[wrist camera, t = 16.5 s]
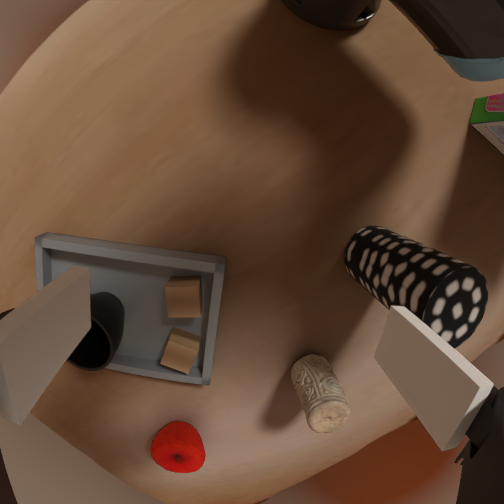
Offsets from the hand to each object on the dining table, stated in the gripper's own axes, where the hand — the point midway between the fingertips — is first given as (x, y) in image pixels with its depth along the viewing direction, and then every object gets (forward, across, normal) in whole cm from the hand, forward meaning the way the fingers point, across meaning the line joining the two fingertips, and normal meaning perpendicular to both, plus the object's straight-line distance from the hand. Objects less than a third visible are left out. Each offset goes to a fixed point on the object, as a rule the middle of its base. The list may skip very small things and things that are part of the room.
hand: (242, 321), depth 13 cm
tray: (+29, -13, -14) cm, 34 cm away
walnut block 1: (+28, -4, -10) cm, 30 cm away
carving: (+29, +15, -21) cm, 39 cm away
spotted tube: (+29, +20, -2) cm, 35 cm away
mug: (+28, -17, -14) cm, 36 cm away
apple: (+29, -4, -37) cm, 47 cm away
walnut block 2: (+28, -4, -18) cm, 34 cm away
